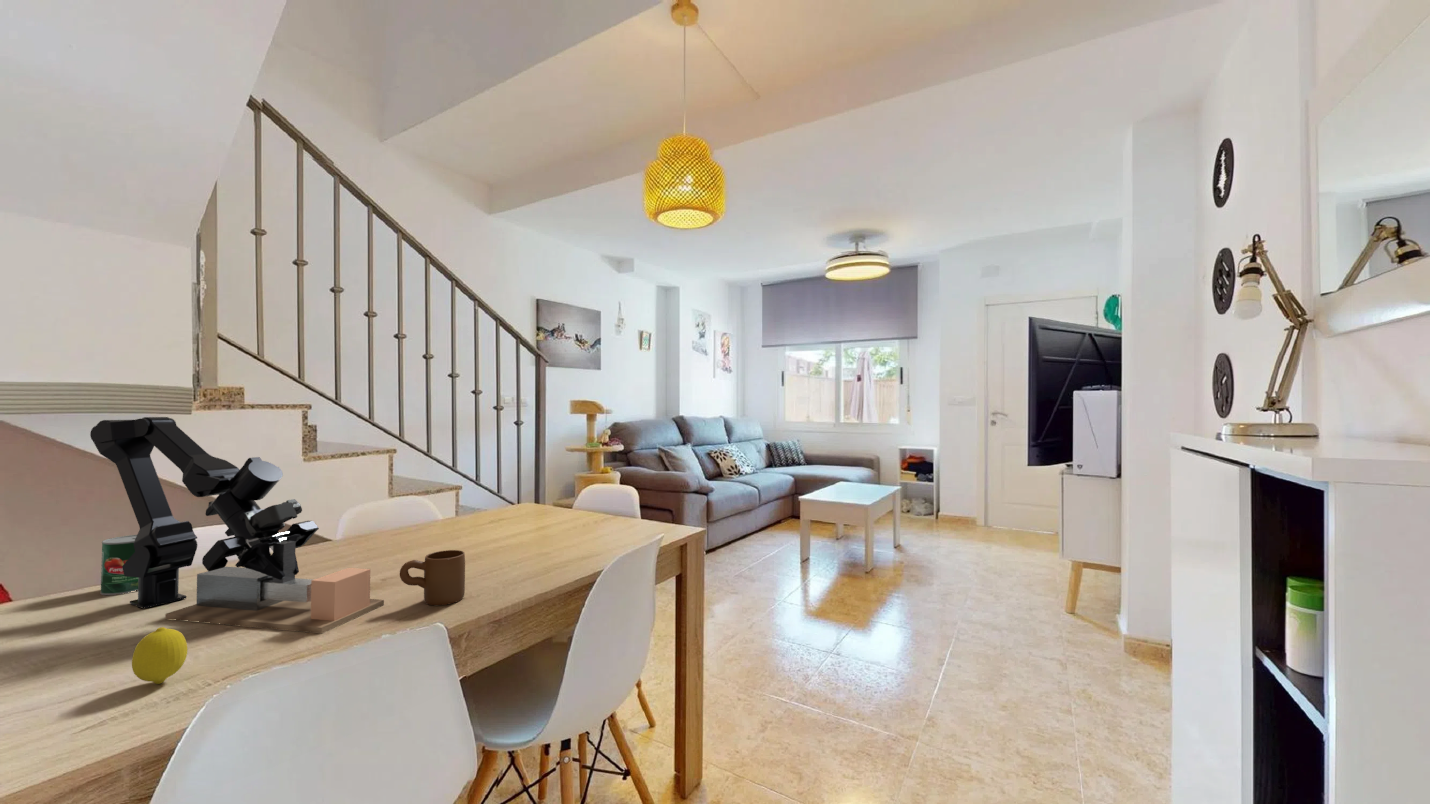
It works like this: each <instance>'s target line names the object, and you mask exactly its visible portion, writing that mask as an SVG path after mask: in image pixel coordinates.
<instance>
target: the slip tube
mask: <svg viewBox="0 0 1430 804" xmlns="http://www.w3.org/2000/svg"><path fill="white" fill-rule="evenodd" d="M295 546H296V541H281V542H277V543H273V550H272V554H273V558H274V559H275V560H276V562H277V563H278V565H279V566H280V567H281V569H282V570H283V572H284V574H285V577H284V578H283V579H282V580H279V579H276V578H274V577H271V578H268V579H264V580H261V581H260V599H270V600H282V601H295V602H309V601H311V580H314V578H313V579H311V578H309V579H308V578H297V577H296V575H295V554H296V548H295Z"/></svg>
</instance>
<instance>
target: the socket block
mask: <svg viewBox="0 0 1430 804" xmlns="http://www.w3.org/2000/svg"><path fill="white" fill-rule="evenodd" d="M370 599H371V569H369V568H358V567H347V568H343V569H340V570H338V571H335V572H332V573H329V574H326V575H323V576H320V577H317V578H315V579H314V578H313V580H311V619H319V620H330V621H335V620H337V619H340V618H342V617H344V616H346V615H349V614H351V613H353V612H355V611H358V610H360V609H362V608H364V607H367V606H369V605H370Z"/></svg>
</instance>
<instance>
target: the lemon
mask: <svg viewBox="0 0 1430 804" xmlns="http://www.w3.org/2000/svg"><path fill="white" fill-rule="evenodd" d="M187 655H188V643H187V640H186V637H185V636H184V634H183V633H182V632H180V630H177V629H174V628H166V627H164V626H161V627H158V628H157V629H155V630H154V631H152V632H150V633H148V634H146V635H144V637H143V638H142V639H141V640H139V642H138V643H137V645H136V646H135V648H134V651H133V653H132V659H131V668H132V672H133V673H134V675H135V676H136V677H137V678H138V679H139V680H142V681H144V682H151V683H154V684H155V685H160V684H162V683H164V682H165V681H166V680H167V679H168V678H170V677H171V676H174V675H175V674H176V673H177V672H178V671H179V670H180V669H181V668H182V667H183V666H184V663H185V661H186V659H187V657H188V656H187Z"/></svg>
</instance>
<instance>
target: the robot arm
mask: <svg viewBox="0 0 1430 804" xmlns="http://www.w3.org/2000/svg"><path fill="white" fill-rule="evenodd" d="M89 432H90V434H89V435H90V438H91V439H90V440H92V441H93V444H94V446H95V448H96V449H97V451H98V453H99V454H100V455H101V456H103V457H104V458H106V459H107V460H108V461H111V462H112V463H114V464H115V466H116V468H117V471H118V473H119V476H120V479H121V482H122V484H123V486H124V489H125V492H126V494H127V497H128V500H129V503H130V505H131V507H132V510H133V511H132V512H133V513H134V515H135V518H136V521H137V523H138V527H139V529H138V530H139V531H138V532H137V534H136V535H137V537H136V539H135V541H134V549H135V552H134V553H133V555H132V556H131V557H130V558H129V559H128V560H127V561H126V563H125V564H124V565H123V566H122V568H123V572H124V576H126V577H138V591H137V599H134V600H129V604H130V605H133V606H136V607H138V608H141V609H147V608H151V606H152V607H156V606H159V604H160V605H163V604H168V603H172V602H177V601H181V600H184V598H185V599H187V595H185V594H181V593H180V592H179V582H180V581H179V579H180V569H181V568H185V567H191V566H192V564H193V561H194V558H195V555H196V552H197V550H198V549H197V548H198V542H197V540H196V539H198V536H197V535H196V534H195V532H194V530H193V529H194V528H193V525H192V523H191V522H190V521H189V520H186V521H185V520H184V521H180V520H178V519H176V518H175V516H174V515H173V512H172V510H171V507H170V504H169V502H168V500H167V497H166V494H165V491H164V489H163V486H162V483H161V481H160V478H159V476H158V473H157V469H156V467H155V466H154V462H153V460H152V458H151V454H152V451H153V450H154V447H155V448H156V449H157V450H158V451H159V452H160V453H162V454H163V455H164V456H165V457H166V458H167V459H168V460H170V462H171V463H173V465H175V466H176V467H177V468H178V469H179V470H180V471H181V472H182V479H181V481H182V483H183V484H184V486H185V487H186V488H187V490H188V491H189V492H190V494H192V496H194V497H197V498H204V497H210V496H211V497H212V496H217V495H218V496H217V497H216V498H214V500H212V501H209V502H208V505H207V508H206V510H205V516H206V517H210V516H216V515H218V517H219V518H220V519H221V520H222V522H223V523H224V524H225V525H226V527H227V529H226V531H225V532H224V534H225V535H226V536H227V537H228V538H223V539H219V540H217V541H216V542H215V543H214V544H213V545H212V547H211V548H210V549H209V550H208V551H207V552H206V553H205V554H204V555H203V557H202V559H201V560H202V565H203V567H204V568H205V569H206V571H213V570H216V569H220V568H224V567H227V564H228V562H229V559H227V558H229V557H233V556H236V557H237V559H238V561H237V563H235V565H234V567H240V568H248V569H251V570H255V571H258V572H260V573H263V574H266V575H268V576H271V577H274V578H276V579H279V580H282V579H283V578H284V577H285V574H284V572H283V570H282V569H281V567H280V566H279V565H278V563H277V562H276V560H275V559H274V558H273V553H271V551H273V543H277V542H281V541H296V546H295V549H297V548H301V547H302V546H304V545H305V544H306V543H307V542H308V541H309V540H310V539H311V538H312V537H313V536H314V535H315V533H316V532H317V531H318V530H319V526H318V525H317V524H316V523H315V521H314V520H304V521H300V522H296V523H292V524H291V525H290V526H289V527H288V529H287V530H286V531H285V532H279V531H280V530H284V529H283V528H285V526H286V524H285V522H288V521H290V520H292V519H296V518H298V515H300V514H301V513H302V512H303V507H302V506H301V504H300V503H299V501H298V500H297V499H295V498H292V499H288V500H286V501H285V502H284V501H283V502H282V503H279V504H273V505H270V506H267V507H265V508H261V507H260V506H259V504H258V503H257V502H256V501H260V500H262V499H264V498H265V497H267V495H268V494H269V493H270V492H271V490H272V489H273V488H274V487H275V486H276V485H277V483H278V482H279V481H280V480H281V479H282V477H283V476H284V475H283V470H282V469H281V468H280V466H277V465H276V464H274V463H271V462H269V461H267V460H262V458H261V457H259V456H256V457H255V456H254V457H253V456H252V457H248V458H247V459H246V461H244V464H243V466H241V467H240V469H239V467H237V466H236V465H235V464H233V463H231V462H230V461H228V460H227V459H223V458H219V457H216V456H213V455H211V454H209V453H208V452H207V451H205V449H203V448H202V447H201V445H199V444H198V443H197V442H196V441H195V440H193V439H192V438H191V437H190V436H189V435H188V434H187V433H185V432H184V431H183V430H182V429H181V428H180V427H179V426H178V425H177V422H176V420H175V419H174V418H172V417H171V418H170V417H168V416H167V417H166V416H144V417H142V418H136V419H103V420H100V421H99V422H98V423H97V424H96V425H94V426H93V427H92V428H91V430H90V431H89ZM270 549H271V550H270ZM298 565H299V564H298V561H297V555H296V553H295V576H297V575H298V574H299V571H300V570H299V566H298ZM155 605H156V606H155Z"/></svg>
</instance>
